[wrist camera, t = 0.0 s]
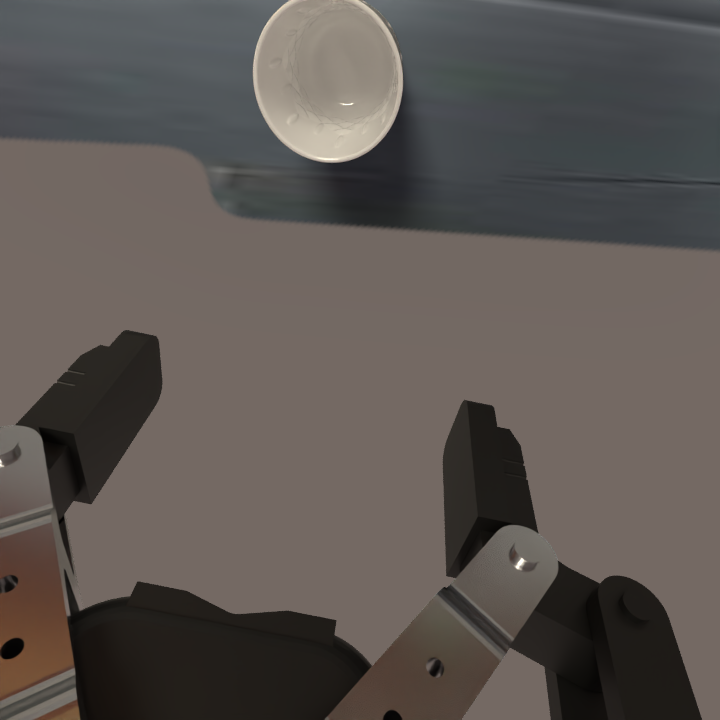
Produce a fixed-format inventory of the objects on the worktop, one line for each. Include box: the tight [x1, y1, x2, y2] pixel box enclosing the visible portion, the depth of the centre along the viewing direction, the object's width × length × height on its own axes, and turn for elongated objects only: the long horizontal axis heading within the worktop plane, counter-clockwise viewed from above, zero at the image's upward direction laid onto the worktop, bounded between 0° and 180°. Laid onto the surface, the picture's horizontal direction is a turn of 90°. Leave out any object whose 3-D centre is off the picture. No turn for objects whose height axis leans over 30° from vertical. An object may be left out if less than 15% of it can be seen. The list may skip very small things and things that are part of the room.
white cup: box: [253, 0, 403, 163], centre depth 30 cm, size 8×8×10 cm
